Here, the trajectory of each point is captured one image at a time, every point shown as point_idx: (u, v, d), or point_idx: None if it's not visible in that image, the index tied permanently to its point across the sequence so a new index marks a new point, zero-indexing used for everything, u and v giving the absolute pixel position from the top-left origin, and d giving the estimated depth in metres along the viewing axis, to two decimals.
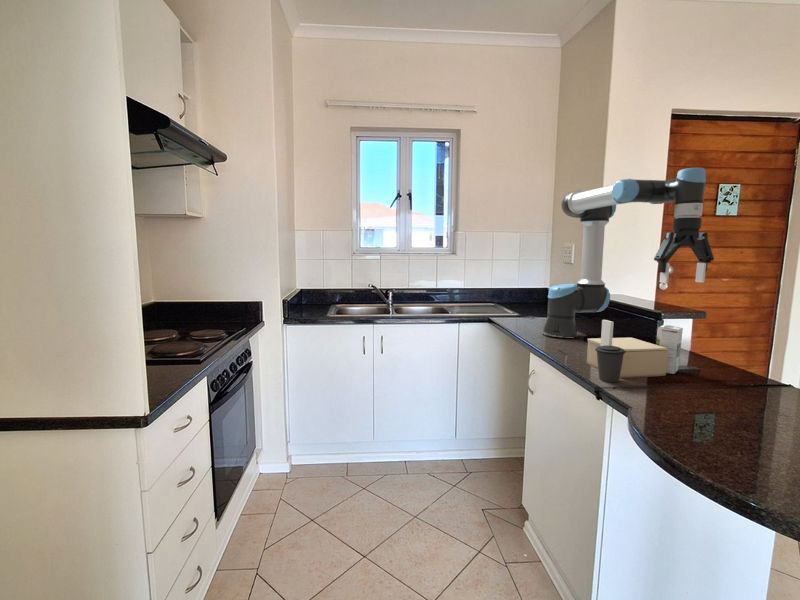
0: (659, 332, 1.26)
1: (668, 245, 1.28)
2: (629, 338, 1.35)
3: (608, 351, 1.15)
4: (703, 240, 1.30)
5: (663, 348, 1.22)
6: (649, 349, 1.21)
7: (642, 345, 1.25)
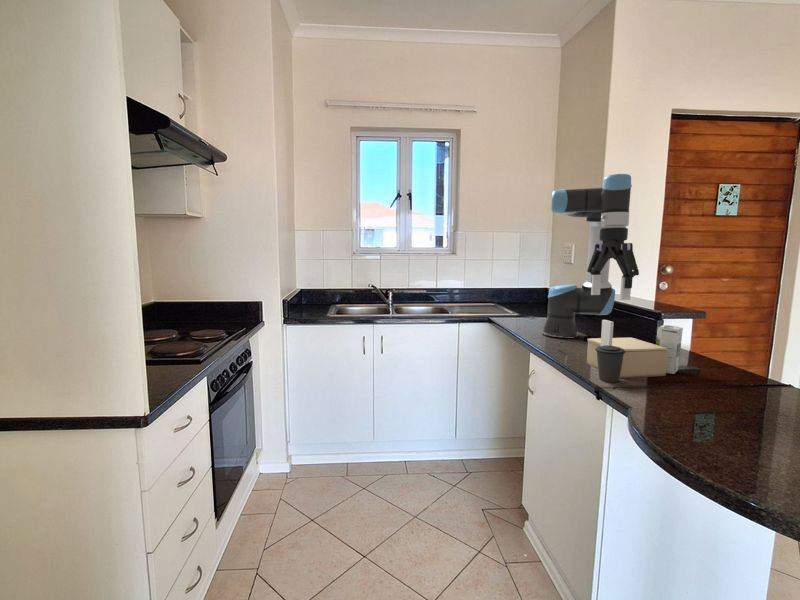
0: (659, 332, 1.26)
1: (593, 257, 1.28)
2: (629, 338, 1.35)
3: (608, 351, 1.15)
4: None
5: (663, 348, 1.22)
6: (649, 349, 1.21)
7: (642, 345, 1.25)
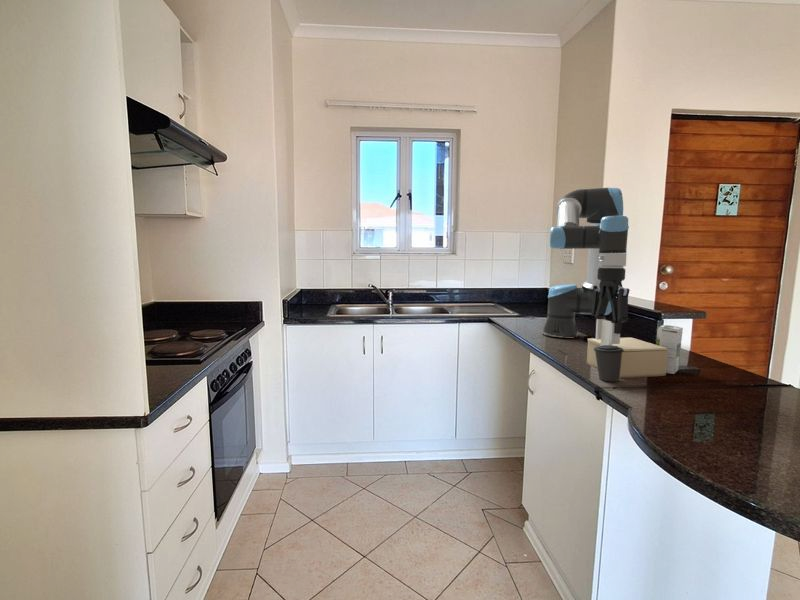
0: (659, 332, 1.26)
1: (594, 299, 1.28)
2: (629, 338, 1.35)
3: (606, 350, 1.16)
4: None
5: (663, 348, 1.22)
6: (649, 349, 1.21)
7: (642, 345, 1.25)
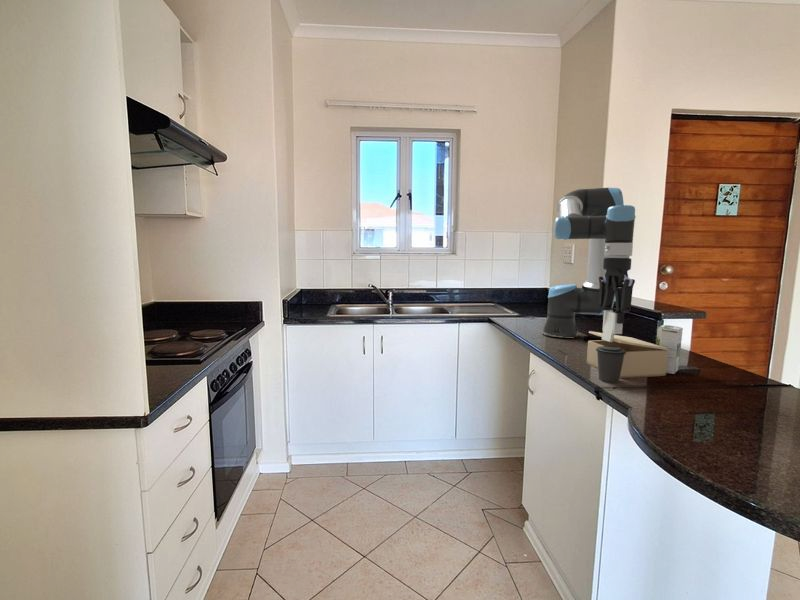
0: (659, 332, 1.26)
1: (600, 290, 1.28)
2: (629, 337, 1.35)
3: (608, 351, 1.15)
4: None
5: (663, 347, 1.22)
6: (650, 346, 1.21)
7: (643, 343, 1.25)
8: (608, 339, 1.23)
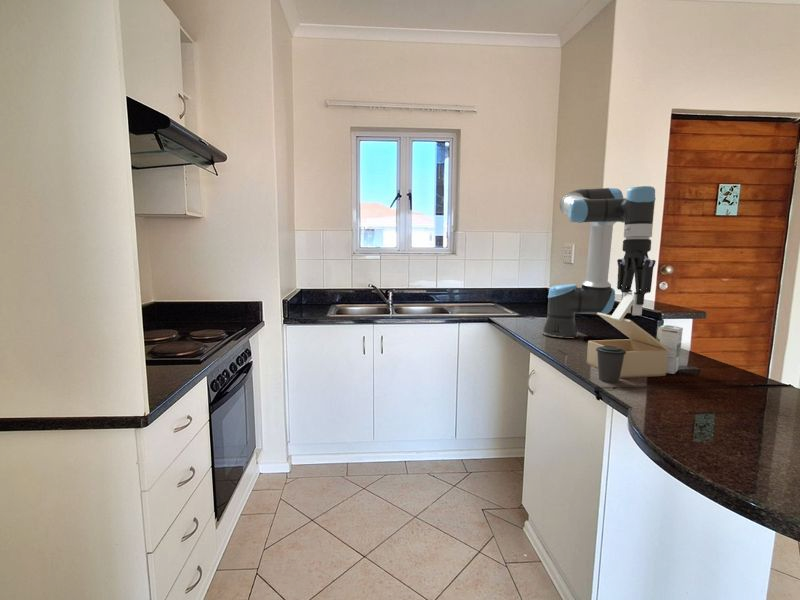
0: (659, 332, 1.26)
1: (619, 272, 1.28)
2: (631, 335, 1.35)
3: (608, 351, 1.15)
4: None
5: (665, 346, 1.22)
6: (654, 338, 1.21)
7: (646, 337, 1.25)
8: (618, 317, 1.23)
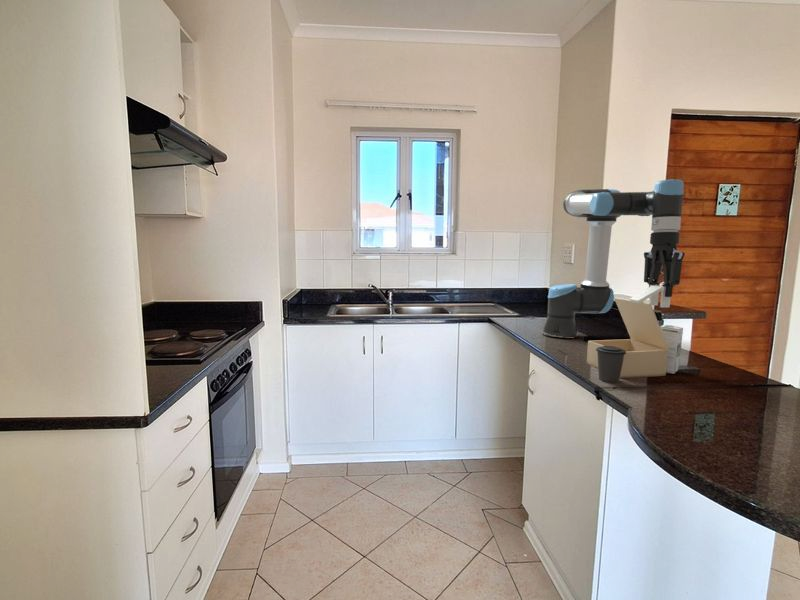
0: None
1: (646, 265, 1.29)
2: None
3: (608, 351, 1.15)
4: None
5: None
6: (661, 332, 1.21)
7: None
8: (638, 299, 1.23)
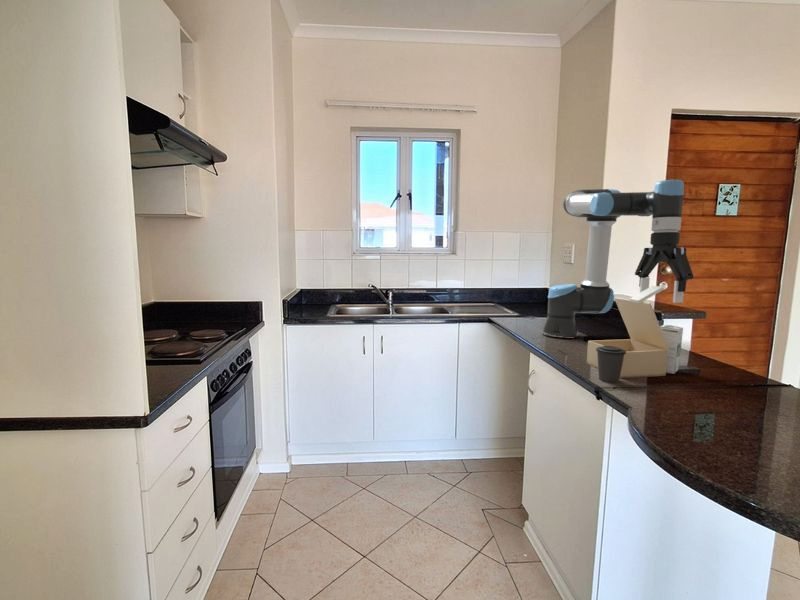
0: None
1: (642, 260, 1.31)
2: None
3: (608, 351, 1.15)
4: None
5: None
6: (661, 332, 1.21)
7: None
8: (638, 299, 1.23)
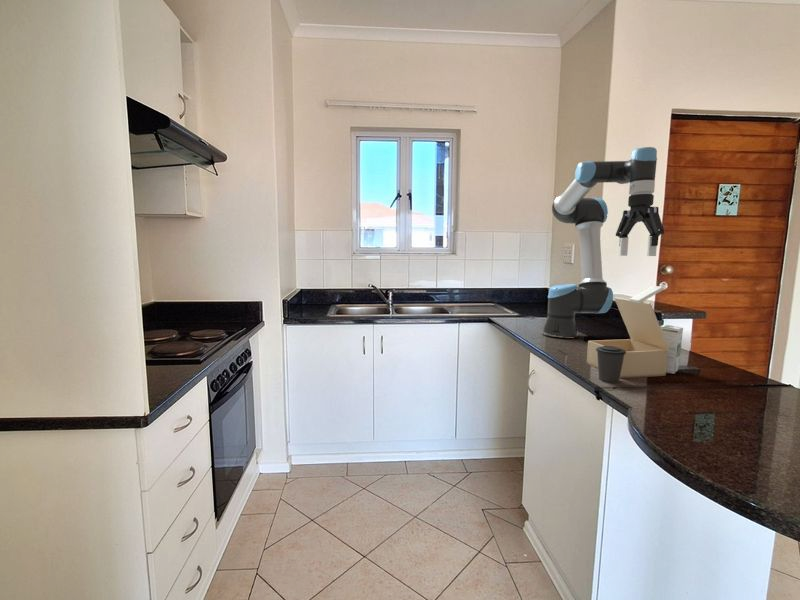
0: None
1: (621, 222, 1.46)
2: None
3: (608, 351, 1.15)
4: None
5: None
6: (661, 332, 1.21)
7: None
8: (638, 299, 1.23)
